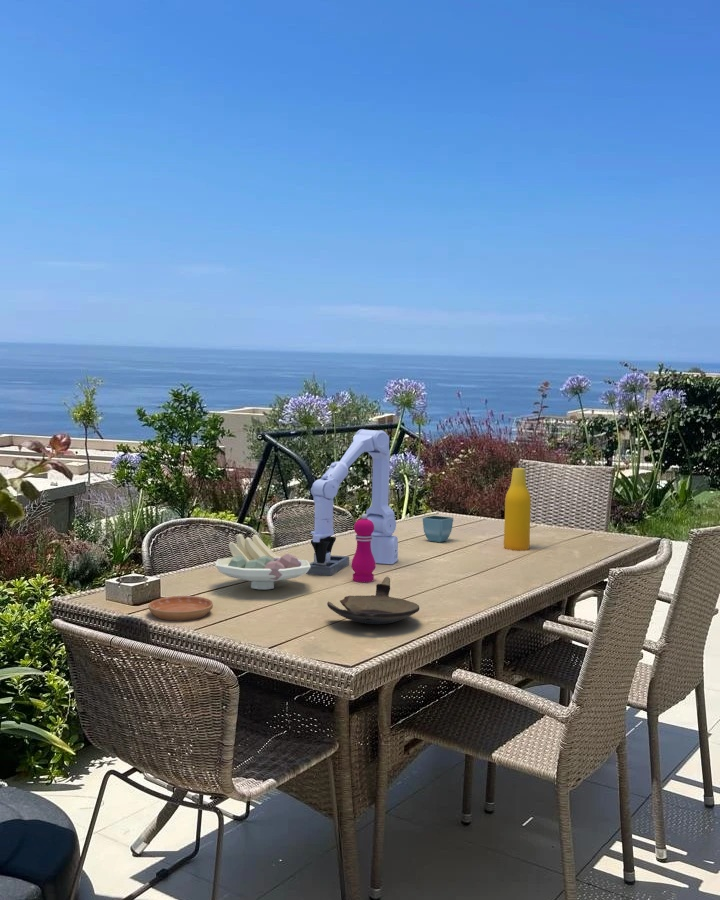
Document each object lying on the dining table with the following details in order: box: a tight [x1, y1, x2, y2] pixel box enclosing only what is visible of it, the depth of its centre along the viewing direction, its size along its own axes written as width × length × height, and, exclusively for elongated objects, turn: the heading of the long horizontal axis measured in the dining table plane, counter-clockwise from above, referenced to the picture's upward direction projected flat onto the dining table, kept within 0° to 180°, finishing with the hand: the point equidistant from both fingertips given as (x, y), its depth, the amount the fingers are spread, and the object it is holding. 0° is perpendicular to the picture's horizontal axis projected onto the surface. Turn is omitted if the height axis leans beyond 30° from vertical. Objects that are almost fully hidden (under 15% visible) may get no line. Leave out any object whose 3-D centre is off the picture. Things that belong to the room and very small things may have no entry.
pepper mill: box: [351, 513, 376, 583], centre depth 270 cm, size 7×7×20 cm
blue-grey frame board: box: [305, 554, 350, 577], centre depth 286 cm, size 8×19×2 cm, turn 163°
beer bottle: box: [503, 467, 532, 551], centre depth 327 cm, size 9×9×29 cm
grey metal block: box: [313, 551, 331, 566], centre depth 281 cm, size 4×4×5 cm
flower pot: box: [422, 515, 454, 543], centre depth 340 cm, size 9×9×9 cm
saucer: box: [148, 595, 214, 621], centre depth 228 cm, size 16×16×3 cm
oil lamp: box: [327, 576, 420, 625], centre depth 226 cm, size 22×30×8 cm
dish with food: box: [215, 533, 311, 590], centre depth 258 cm, size 28×28×14 cm
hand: (323, 561), depth 281 cm, fingers closed on grey metal block, 4 cm apart
